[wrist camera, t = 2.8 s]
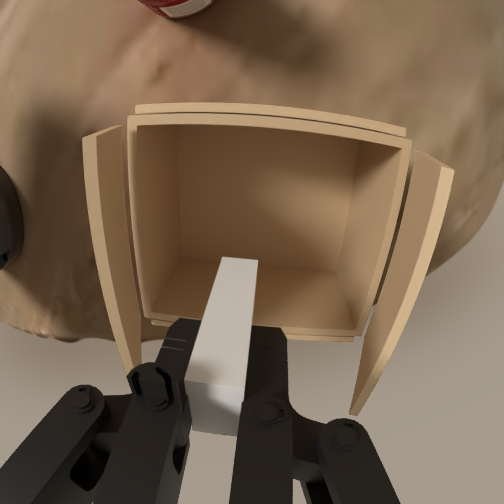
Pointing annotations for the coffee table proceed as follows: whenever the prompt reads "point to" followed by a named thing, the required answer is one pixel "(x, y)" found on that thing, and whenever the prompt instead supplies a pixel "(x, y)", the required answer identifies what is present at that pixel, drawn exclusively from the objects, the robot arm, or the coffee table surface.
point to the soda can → (177, 7)
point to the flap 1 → (112, 238)
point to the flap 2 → (404, 270)
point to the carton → (264, 211)
